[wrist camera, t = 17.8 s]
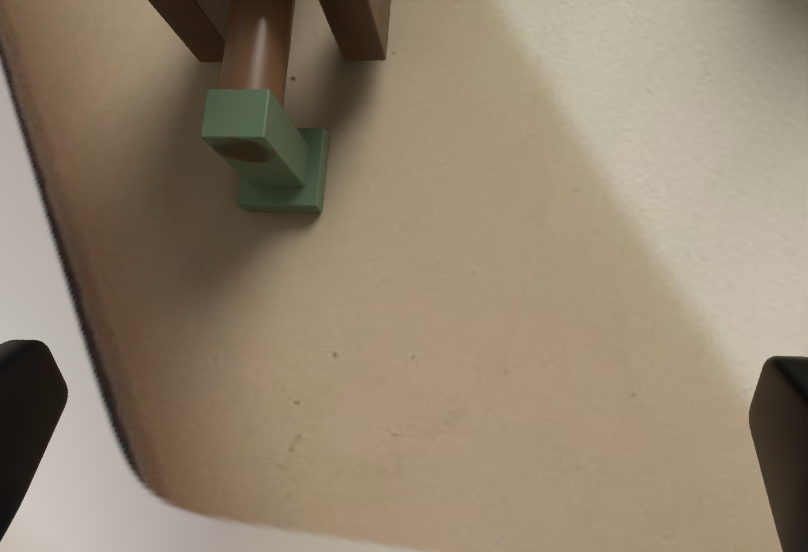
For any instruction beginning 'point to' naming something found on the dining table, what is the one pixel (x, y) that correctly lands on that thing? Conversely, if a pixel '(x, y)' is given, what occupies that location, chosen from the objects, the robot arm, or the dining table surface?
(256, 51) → the stand
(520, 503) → the dining table surface
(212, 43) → the brown stepped block
